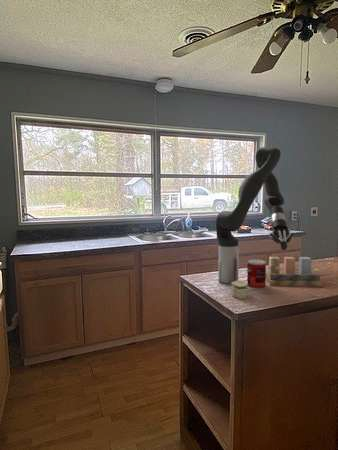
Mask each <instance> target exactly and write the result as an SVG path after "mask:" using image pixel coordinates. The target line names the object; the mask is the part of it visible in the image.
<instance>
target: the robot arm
mask: <svg viewBox="0 0 338 450" xmlns="http://www.w3.org/2000/svg"><path fill="white" fill-rule="evenodd" d="M280 158H281V150H280V149H279V148H277V147H266V146H262V147H259V148H258V149H257V150H256V152H255V163H256V166H257V169H256V170H255V171H253V172H251V173H250V174H248V175H247V176H246V177H245V178H244V179H243V181H242V182H241V184H240V186H239V188H238V202H237V204H236V207H234V209H233V210H232V211H229V210H227V211H226V210H225V211H224V210H222V211H220V212H219V213H218V214H217V216H216V219H215V229H216V239H217V243H218V260H217V261H218V265H217V267H218V283H224V284H232V283H231V282H235V281H239V240H238V238H237V237H236V236H234V235H233V234H232V232H237V231H238V230H240V229H241V227H242V226H243V224H244V222H245V219H246V217H247V215H248V212H249V210H250V208H251V207H252V205H253V202H254V201H255V199H256V198H257V196H258V195H259V194H260V191H261V190H262V188H263V186H264V188H265V192H266V195H267V196H266V197H265V199H264V204H265V206H266V208H267V209H268V211H269V215H270V223H271V227H272V232H270V233H269V236H268V237H269V238H270V240H272V241H273V242H275V244H279V245H280V250H283V251H285V250H287V248H288V245H287V244H290V242H291V240H292V239H294V235H295V233H294V232H292V233H291V232H290V230H289V227H288V223H287V220H286V217H285V213H284V208H283V207H282V206H283V205H284V204H285V199H284V197H283V194H282V193H281V191H280V186H279V181H278V179H277V177H276V175H274V174H273V171H274V169H275V168H276V166H277V165H278V163H279V161H280ZM287 237H288V238H287Z"/></svg>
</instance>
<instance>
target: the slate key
mask: <svg viewBox="0 0 338 450" xmlns="http://www.w3.org/2000/svg"><path fill="white" fill-rule="evenodd" d="M298 265H299V266H298V272H299V274H311V273H312V258H311V257H309V256H299V261H298Z"/></svg>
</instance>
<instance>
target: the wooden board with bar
mask: <svg viewBox="0 0 338 450" xmlns="http://www.w3.org/2000/svg"><path fill="white" fill-rule="evenodd" d="M266 281H267V283H268V284H269V286H271V287H272V286H274V287H276V286H277V287H314V286H315V287H317V288H319V287H320V288H321V287H323V286H324V285H323V284H324V283H323V281H322V280H321V275H320V274H319V273H317V274H316V273H315V274H313V273H312V272H311V274H299V271H295V274H284V271H280V273H279V274H270V273H269V271H266Z"/></svg>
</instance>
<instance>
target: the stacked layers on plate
mask: <svg viewBox="0 0 338 450" xmlns="http://www.w3.org/2000/svg"><path fill="white" fill-rule="evenodd" d="M230 284H231V290H230V293H231V296H232V297H236V298H237V299H239V300H243V299H247V298H248V294H249V293H248V291H247V290H249V288H248V287H247V286H249V285H248V283H246V282H245V281H243V280H238V281H235V282H231V283H230Z"/></svg>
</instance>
